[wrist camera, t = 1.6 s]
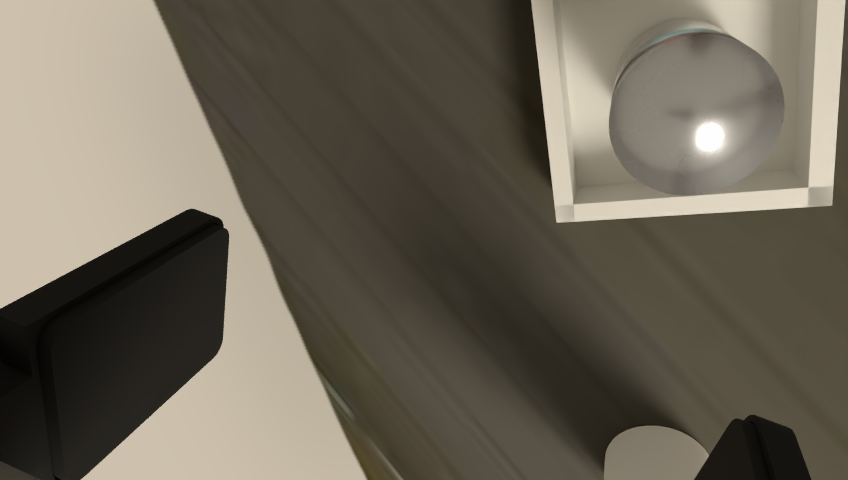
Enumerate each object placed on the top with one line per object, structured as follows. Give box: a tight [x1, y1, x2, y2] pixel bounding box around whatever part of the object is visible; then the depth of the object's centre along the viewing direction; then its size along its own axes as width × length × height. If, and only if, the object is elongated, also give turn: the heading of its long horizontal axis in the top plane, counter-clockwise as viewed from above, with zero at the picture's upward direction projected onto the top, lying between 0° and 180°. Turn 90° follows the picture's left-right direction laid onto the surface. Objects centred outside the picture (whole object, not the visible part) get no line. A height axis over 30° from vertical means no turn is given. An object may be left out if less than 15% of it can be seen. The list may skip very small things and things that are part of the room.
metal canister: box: [609, 18, 785, 196], centre depth 26 cm, size 6×6×10 cm
